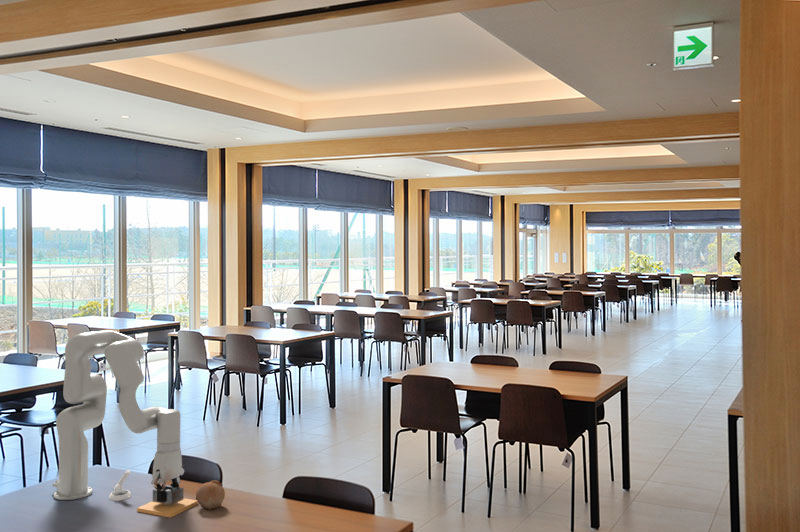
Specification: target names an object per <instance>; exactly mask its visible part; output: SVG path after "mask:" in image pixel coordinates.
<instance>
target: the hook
mask: <svg viewBox="0 0 800 532" xmlns="http://www.w3.org/2000/svg"><path fill="white" fill-rule="evenodd" d="M130 474H131V470H130V469H127V470H125V473H123V475H122V476H121V478H120V479H119V481H118V482H117V483H116V485H115V486H114V487H113V491H112V492H110V493H109V496H108V500H109V501H113V502H115V501H119V502H120V501H126V500H128V499H130V498H132V496H133V495H132V493H131V491H130V490H128V489H124V486H123V485H124V483H125V482H126V480H127V478H128V477H129V476H130Z"/></svg>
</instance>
